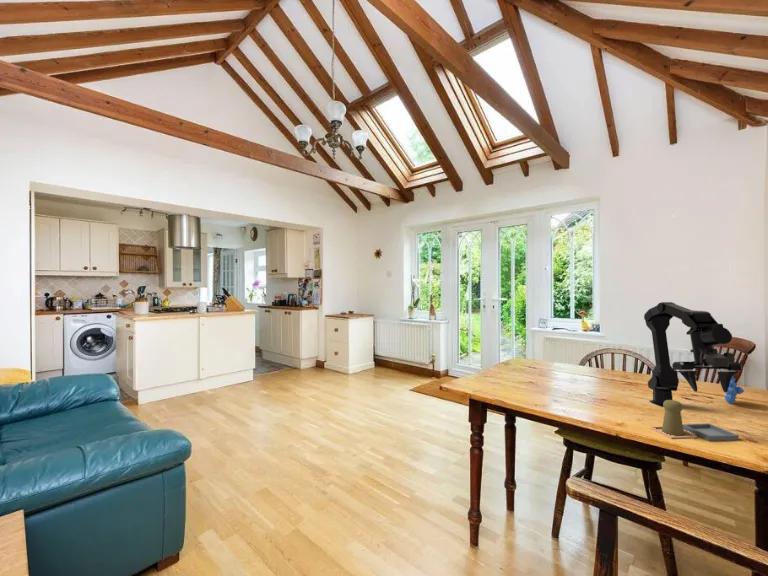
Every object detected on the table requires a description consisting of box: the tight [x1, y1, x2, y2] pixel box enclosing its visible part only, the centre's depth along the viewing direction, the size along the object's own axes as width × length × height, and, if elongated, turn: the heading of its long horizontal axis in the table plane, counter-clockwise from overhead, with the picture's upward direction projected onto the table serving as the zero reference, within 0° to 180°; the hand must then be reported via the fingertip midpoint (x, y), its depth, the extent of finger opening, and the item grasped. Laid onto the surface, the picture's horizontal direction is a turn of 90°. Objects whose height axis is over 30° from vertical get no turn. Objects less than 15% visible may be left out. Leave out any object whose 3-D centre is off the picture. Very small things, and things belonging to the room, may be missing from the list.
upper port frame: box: [649, 425, 698, 439], centre depth 124 cm, size 9×9×1 cm
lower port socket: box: [682, 422, 740, 442], centre depth 123 cm, size 10×10×2 cm
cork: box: [661, 400, 685, 436], centre depth 124 cm, size 6×6×11 cm
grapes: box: [723, 375, 745, 404], centre depth 152 cm, size 12×7×12 cm, turn 142°
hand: (710, 391), depth 126 cm, fingers open, 9 cm apart
